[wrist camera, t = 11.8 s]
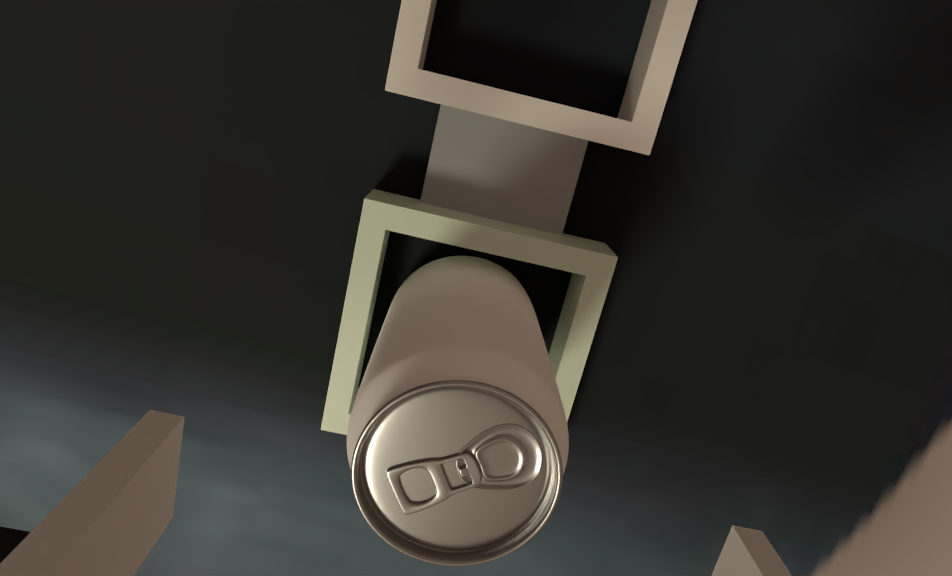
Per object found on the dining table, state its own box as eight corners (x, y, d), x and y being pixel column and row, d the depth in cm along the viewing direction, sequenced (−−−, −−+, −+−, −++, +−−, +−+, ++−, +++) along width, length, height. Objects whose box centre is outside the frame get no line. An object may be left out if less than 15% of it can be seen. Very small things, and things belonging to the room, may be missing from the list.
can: (553, 365, 29) (608, 541, 18) (419, 408, 30) (387, 606, 18) (508, 231, 27) (536, 331, 16) (366, 280, 28) (294, 411, 17)
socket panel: (448, -198, 23) (445, -231, 21) (715, -122, 24) (742, -146, 21) (332, 402, 30) (320, 429, 27) (543, 446, 30) (550, 476, 28)
